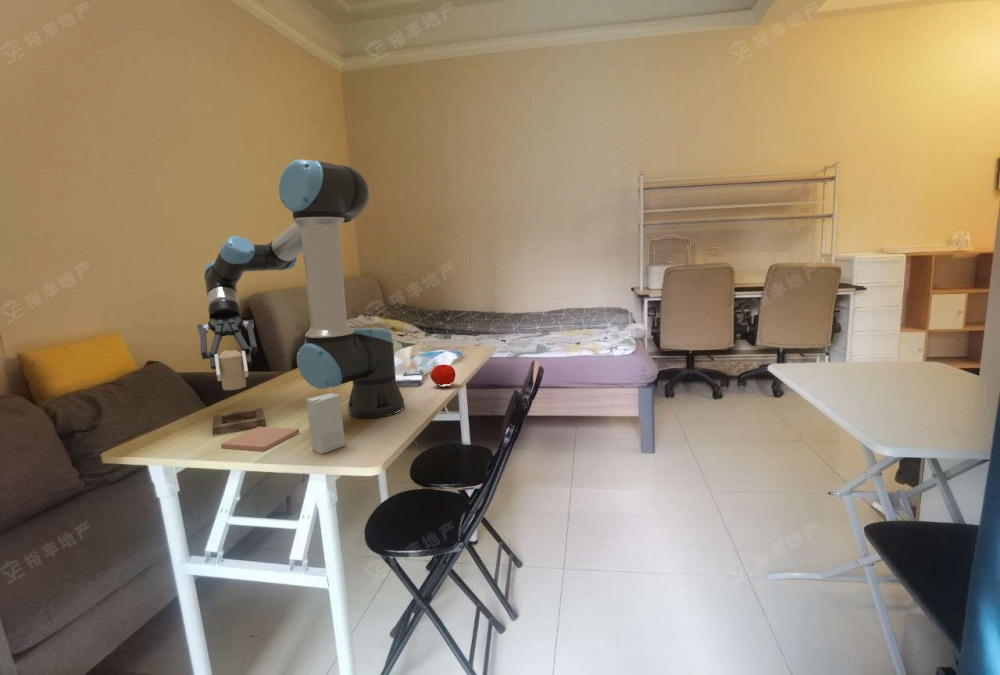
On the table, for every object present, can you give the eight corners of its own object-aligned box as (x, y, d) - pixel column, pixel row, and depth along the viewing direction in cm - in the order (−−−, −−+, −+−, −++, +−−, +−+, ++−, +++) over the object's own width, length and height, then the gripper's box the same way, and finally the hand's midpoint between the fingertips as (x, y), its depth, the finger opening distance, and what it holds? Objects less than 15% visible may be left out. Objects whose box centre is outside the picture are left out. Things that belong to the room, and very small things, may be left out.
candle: (250, 384, 134) (245, 347, 133) (238, 390, 129) (232, 351, 127) (231, 385, 135) (226, 348, 133) (218, 390, 129) (212, 352, 128)
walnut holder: (263, 414, 141) (262, 407, 141) (266, 426, 131) (265, 418, 130) (214, 422, 136) (213, 415, 135) (213, 435, 125) (212, 428, 125)
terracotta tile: (299, 432, 124) (299, 429, 124) (264, 451, 113) (263, 447, 113) (259, 430, 128) (259, 426, 128) (221, 447, 116) (220, 443, 116)
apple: (427, 389, 160) (426, 366, 159) (437, 383, 168) (435, 361, 166) (451, 390, 158) (449, 367, 157) (459, 383, 165) (458, 361, 164)
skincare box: (335, 442, 117) (330, 391, 115) (346, 446, 114) (341, 394, 112) (310, 451, 112) (305, 398, 110) (321, 455, 109) (315, 401, 107)
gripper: (261, 313, 147) (273, 378, 135) (186, 319, 138) (192, 390, 126) (260, 295, 141) (272, 362, 129) (182, 301, 132) (188, 373, 121)
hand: (232, 375), depth 128 cm, fingers closed on candle, 5 cm apart
